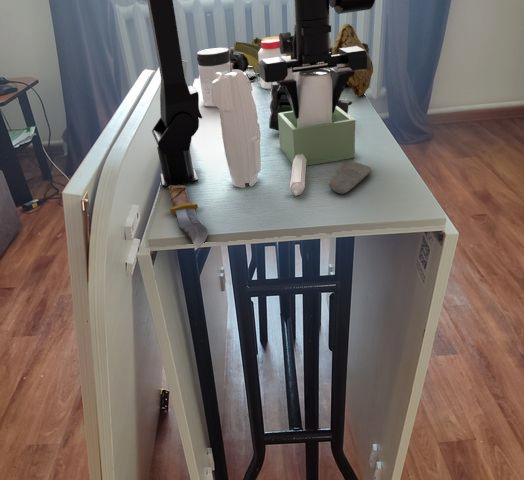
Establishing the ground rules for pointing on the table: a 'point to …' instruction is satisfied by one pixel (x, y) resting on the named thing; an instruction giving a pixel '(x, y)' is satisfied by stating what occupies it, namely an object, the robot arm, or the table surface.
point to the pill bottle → (269, 55)
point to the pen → (253, 78)
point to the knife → (187, 215)
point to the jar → (211, 69)
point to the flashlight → (238, 125)
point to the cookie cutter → (250, 50)
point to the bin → (318, 138)
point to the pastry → (361, 76)
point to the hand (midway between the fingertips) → (314, 115)
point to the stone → (348, 176)
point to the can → (314, 97)
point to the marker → (298, 175)
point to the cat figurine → (287, 105)
